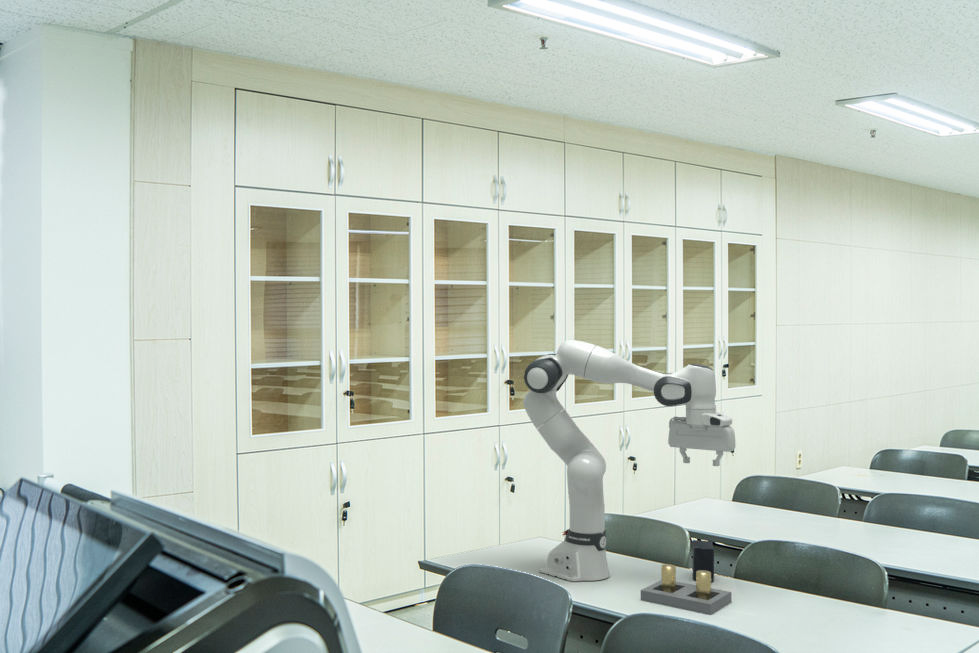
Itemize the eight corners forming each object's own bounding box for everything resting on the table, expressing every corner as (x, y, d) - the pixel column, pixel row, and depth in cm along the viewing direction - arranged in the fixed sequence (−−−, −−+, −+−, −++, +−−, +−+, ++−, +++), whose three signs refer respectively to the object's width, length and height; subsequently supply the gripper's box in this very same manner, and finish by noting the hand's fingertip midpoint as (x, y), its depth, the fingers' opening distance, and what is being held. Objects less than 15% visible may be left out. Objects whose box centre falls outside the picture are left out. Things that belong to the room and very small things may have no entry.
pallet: (640, 602, 244) (640, 590, 244) (663, 591, 255) (663, 579, 255) (710, 617, 231) (710, 604, 231) (731, 604, 242) (731, 592, 242)
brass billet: (693, 604, 239) (693, 572, 239) (700, 601, 242) (699, 569, 242) (707, 607, 237) (707, 574, 237) (713, 604, 240) (713, 571, 240)
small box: (714, 582, 264) (714, 548, 264) (693, 581, 265) (692, 547, 265) (713, 573, 274) (712, 540, 274) (692, 572, 275) (691, 539, 275)
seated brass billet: (659, 597, 246) (658, 566, 246) (665, 594, 249) (665, 563, 249) (671, 600, 243) (671, 568, 243) (678, 597, 246) (678, 565, 247)
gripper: (664, 417, 261) (664, 462, 261) (728, 420, 249) (729, 468, 249) (673, 415, 266) (674, 460, 266) (737, 419, 254) (737, 466, 254)
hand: (701, 464), depth 257 cm, fingers open, 8 cm apart
